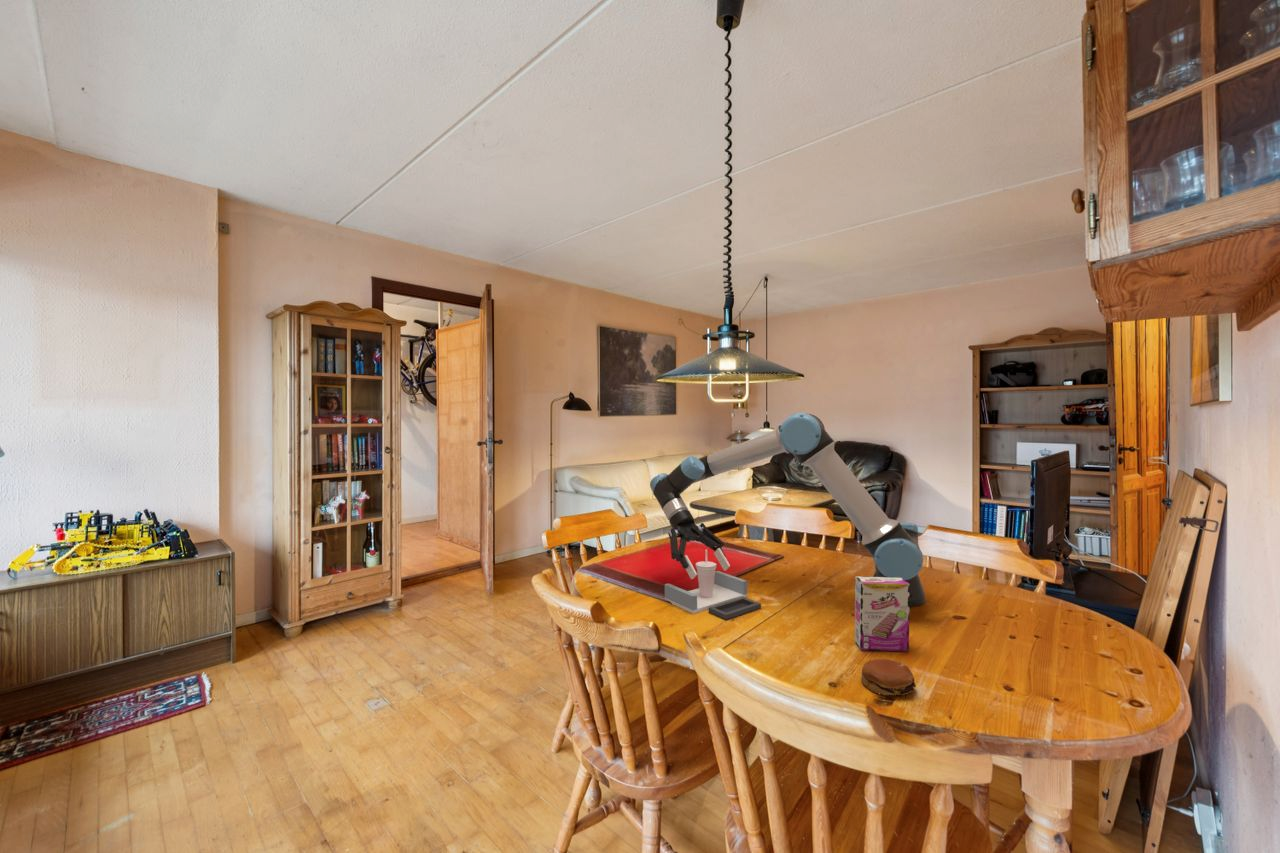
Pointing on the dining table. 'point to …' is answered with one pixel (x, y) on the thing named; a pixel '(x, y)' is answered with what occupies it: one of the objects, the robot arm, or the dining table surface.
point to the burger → (887, 677)
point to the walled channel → (693, 602)
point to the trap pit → (734, 608)
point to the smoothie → (706, 576)
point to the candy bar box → (882, 613)
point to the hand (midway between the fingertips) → (711, 572)
